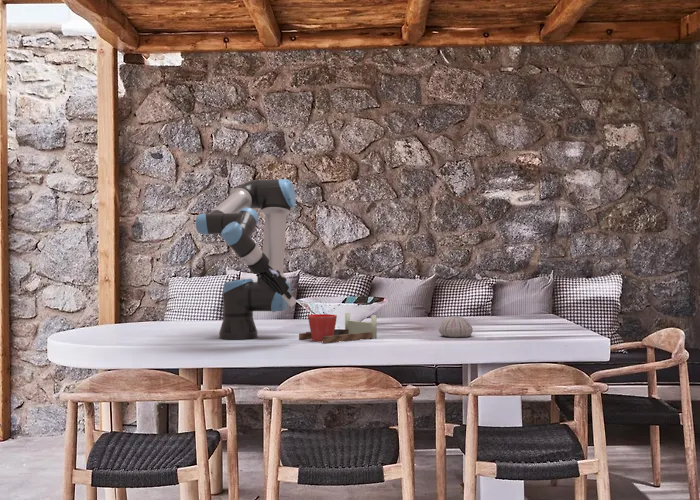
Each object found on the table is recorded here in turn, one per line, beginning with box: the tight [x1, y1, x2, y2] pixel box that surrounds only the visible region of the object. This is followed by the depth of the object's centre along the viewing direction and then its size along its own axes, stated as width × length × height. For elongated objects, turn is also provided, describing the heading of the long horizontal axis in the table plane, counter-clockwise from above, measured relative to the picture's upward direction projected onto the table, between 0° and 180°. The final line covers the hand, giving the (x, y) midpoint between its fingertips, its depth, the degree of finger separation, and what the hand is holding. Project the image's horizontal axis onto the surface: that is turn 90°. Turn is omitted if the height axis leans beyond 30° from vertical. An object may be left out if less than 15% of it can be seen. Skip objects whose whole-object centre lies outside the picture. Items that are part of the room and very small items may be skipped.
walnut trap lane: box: [298, 328, 372, 345], centre depth 308 cm, size 25×19×2 cm
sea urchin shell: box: [438, 315, 474, 339], centre depth 312 cm, size 13×14×8 cm
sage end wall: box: [344, 312, 378, 339], centre depth 314 cm, size 2×18×9 cm, turn 39°
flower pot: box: [307, 313, 338, 342], centre depth 303 cm, size 11×11×10 cm
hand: (293, 303), depth 293 cm, fingers closed
